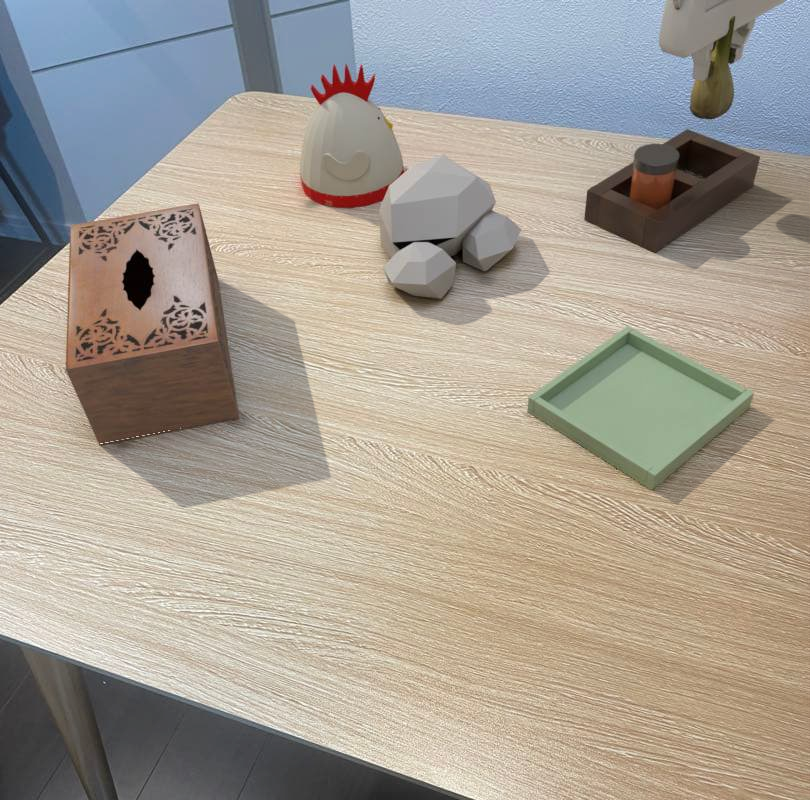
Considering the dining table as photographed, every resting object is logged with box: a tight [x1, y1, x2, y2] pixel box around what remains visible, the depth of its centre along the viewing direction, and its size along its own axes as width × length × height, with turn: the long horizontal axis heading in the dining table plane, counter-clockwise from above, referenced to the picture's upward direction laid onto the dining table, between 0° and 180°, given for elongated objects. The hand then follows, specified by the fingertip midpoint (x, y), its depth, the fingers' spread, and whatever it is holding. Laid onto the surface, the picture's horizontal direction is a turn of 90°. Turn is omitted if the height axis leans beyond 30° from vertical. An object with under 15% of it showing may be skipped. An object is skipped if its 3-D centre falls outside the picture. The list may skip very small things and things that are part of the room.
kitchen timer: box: [299, 63, 405, 209], centre depth 118 cm, size 14×14×15 cm
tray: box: [527, 325, 755, 491], centre depth 91 cm, size 16×16×2 cm
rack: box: [583, 128, 761, 254], centre depth 114 cm, size 11×20×4 cm, turn 133°
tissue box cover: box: [65, 202, 240, 446], centre depth 99 cm, size 26×14×10 cm, turn 12°
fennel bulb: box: [689, 16, 735, 120], centre depth 105 cm, size 6×5×12 cm
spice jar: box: [629, 143, 680, 210], centre depth 111 cm, size 5×5×8 cm
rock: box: [378, 153, 522, 300], centre depth 108 cm, size 18×20×10 cm
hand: (716, 69), depth 106 cm, fingers closed on fennel bulb, 4 cm apart
